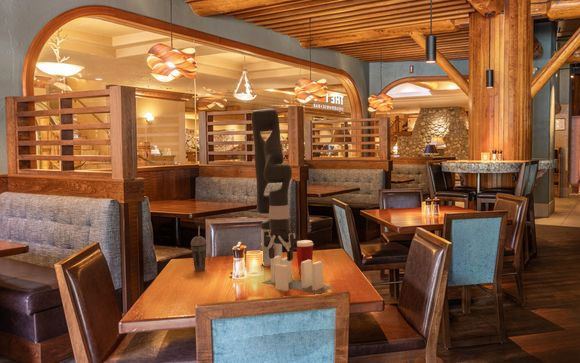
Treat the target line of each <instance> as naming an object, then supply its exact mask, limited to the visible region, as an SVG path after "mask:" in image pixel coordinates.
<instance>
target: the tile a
mask: <svg viewBox="0 0 580 363" xmlns="http://www.w3.org/2000/svg"><path fill="white" fill-rule="evenodd" d="M280 259H281V256H275V257H274V258H272V259H270V260H271V266H270V280H271V283H275V265H276V264H280Z"/></svg>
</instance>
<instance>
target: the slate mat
mask: <svg viewBox="0 0 580 363" xmlns="http://www.w3.org/2000/svg"><path fill="white" fill-rule="evenodd" d="M261 284H264V285H270V286H275V287H276V284H275V283H271V279H268V280H266V281H262V282H261ZM288 286H289V289H291V290H298V291H303V292H307V293H314V294H322V293H323V292H326V291H328V290H330V289H332V288H334V286H332V285H331V286H330V285H325V284H323V288H320V289H318V290H312V286H310V287H307V288H302V283H301V280H295V279H292V282H290V283H288Z"/></svg>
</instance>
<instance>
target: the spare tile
mask: <svg viewBox="0 0 580 363" xmlns="http://www.w3.org/2000/svg"><path fill="white" fill-rule="evenodd" d="M275 284H276V286H275V290H278V291H283V292H288V291H289V290H290V288H289V286H288V266H287V265H280V264H276V265H275Z"/></svg>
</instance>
